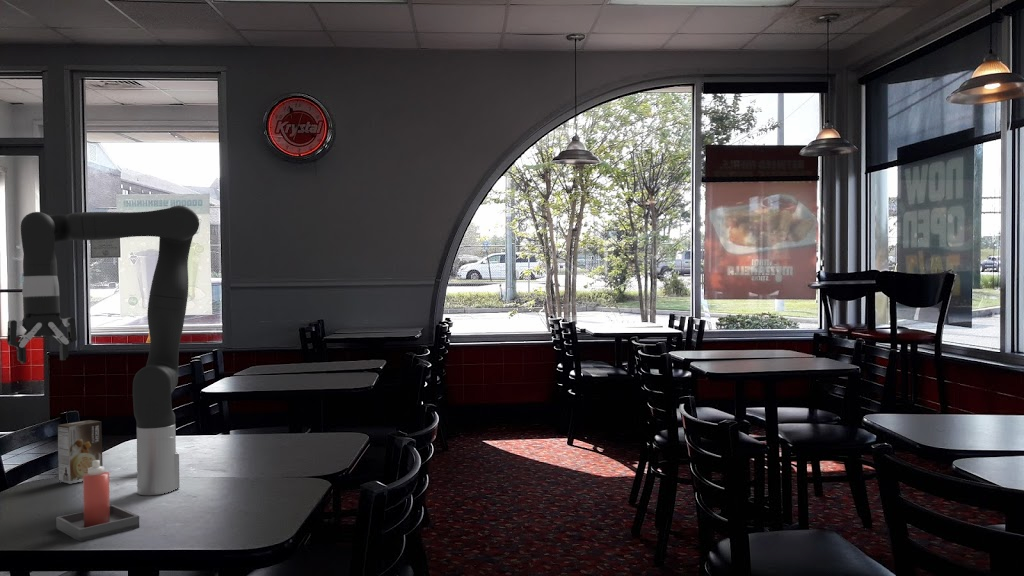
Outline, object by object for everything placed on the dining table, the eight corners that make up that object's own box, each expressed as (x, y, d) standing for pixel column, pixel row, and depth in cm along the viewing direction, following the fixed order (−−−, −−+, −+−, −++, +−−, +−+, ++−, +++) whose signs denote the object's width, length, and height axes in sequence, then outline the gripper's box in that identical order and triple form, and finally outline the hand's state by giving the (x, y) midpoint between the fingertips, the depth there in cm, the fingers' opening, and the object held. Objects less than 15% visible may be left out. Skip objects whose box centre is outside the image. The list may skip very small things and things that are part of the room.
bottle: (104, 519, 167) (103, 457, 168) (113, 523, 164) (112, 460, 164) (80, 525, 164) (79, 461, 164) (89, 529, 160) (88, 464, 161)
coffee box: (91, 475, 213) (90, 419, 214) (103, 477, 210) (102, 421, 210) (57, 482, 206) (57, 424, 206) (70, 485, 202) (69, 426, 202)
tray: (113, 515, 173) (113, 504, 173) (139, 527, 164) (139, 516, 164) (56, 528, 164) (56, 517, 164) (79, 541, 155) (79, 529, 155)
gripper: (11, 295, 173) (14, 365, 173) (79, 293, 183) (81, 359, 183) (2, 296, 178) (4, 364, 177) (68, 294, 188) (70, 358, 188)
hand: (43, 361), depth 180 cm, fingers open, 8 cm apart
